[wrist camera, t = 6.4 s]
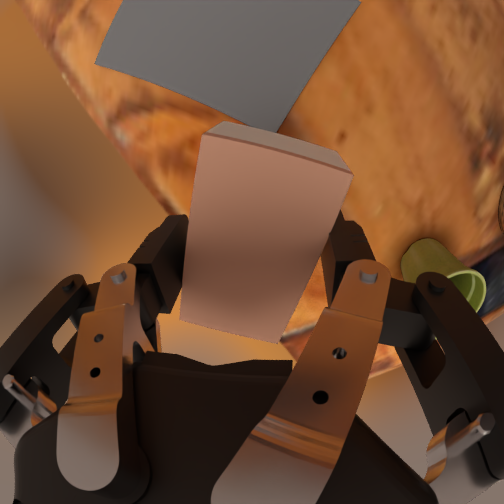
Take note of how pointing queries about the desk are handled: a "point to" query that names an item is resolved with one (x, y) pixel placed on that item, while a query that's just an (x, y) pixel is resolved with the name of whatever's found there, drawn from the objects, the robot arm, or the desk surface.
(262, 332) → the block
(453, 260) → the plant pot
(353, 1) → the mat
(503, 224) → the jar
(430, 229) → the desk surface
